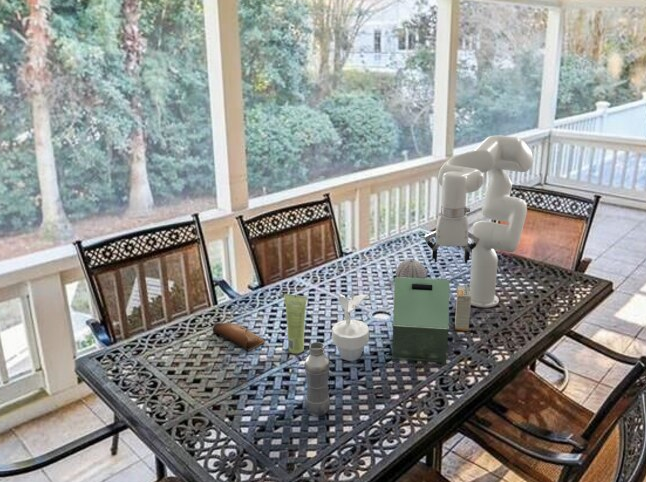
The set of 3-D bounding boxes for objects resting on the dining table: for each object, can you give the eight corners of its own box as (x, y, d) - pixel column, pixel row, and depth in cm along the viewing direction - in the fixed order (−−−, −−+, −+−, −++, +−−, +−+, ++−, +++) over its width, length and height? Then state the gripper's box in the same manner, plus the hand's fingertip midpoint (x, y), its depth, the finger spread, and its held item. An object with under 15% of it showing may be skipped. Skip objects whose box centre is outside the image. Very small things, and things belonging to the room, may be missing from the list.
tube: (302, 344, 176) (300, 289, 170) (308, 351, 171) (306, 296, 166) (286, 348, 173) (283, 293, 168) (291, 356, 169) (289, 300, 163)
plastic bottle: (305, 404, 146) (303, 339, 140) (329, 403, 146) (329, 338, 141) (305, 420, 140) (303, 353, 134) (331, 418, 140) (330, 351, 134)
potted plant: (342, 370, 161) (342, 295, 154) (326, 351, 171) (324, 280, 164) (378, 359, 167) (380, 286, 160) (360, 342, 177) (360, 272, 169)
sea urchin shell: (389, 281, 222) (390, 263, 220) (403, 269, 233) (404, 252, 231) (418, 288, 216) (419, 269, 213) (432, 276, 227) (432, 258, 224)
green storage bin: (393, 337, 179) (394, 305, 176) (444, 340, 177) (445, 308, 174) (392, 359, 167) (393, 326, 163) (446, 363, 165) (448, 329, 161)
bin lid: (394, 277, 165) (394, 277, 160) (449, 279, 163) (450, 279, 158) (393, 324, 163) (392, 326, 158) (448, 327, 161) (449, 329, 156)
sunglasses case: (266, 340, 177) (258, 328, 173) (253, 357, 174) (244, 346, 169) (231, 323, 188) (222, 312, 184) (218, 339, 185) (209, 328, 180)
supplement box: (469, 331, 183) (471, 296, 179) (454, 330, 184) (457, 295, 180) (468, 319, 191) (471, 286, 187) (454, 318, 192) (457, 285, 188)
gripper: (479, 208, 170) (476, 257, 175) (425, 206, 172) (423, 255, 178) (482, 215, 163) (479, 267, 168) (425, 214, 165) (423, 265, 171)
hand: (450, 261), depth 173 cm, fingers open, 9 cm apart
